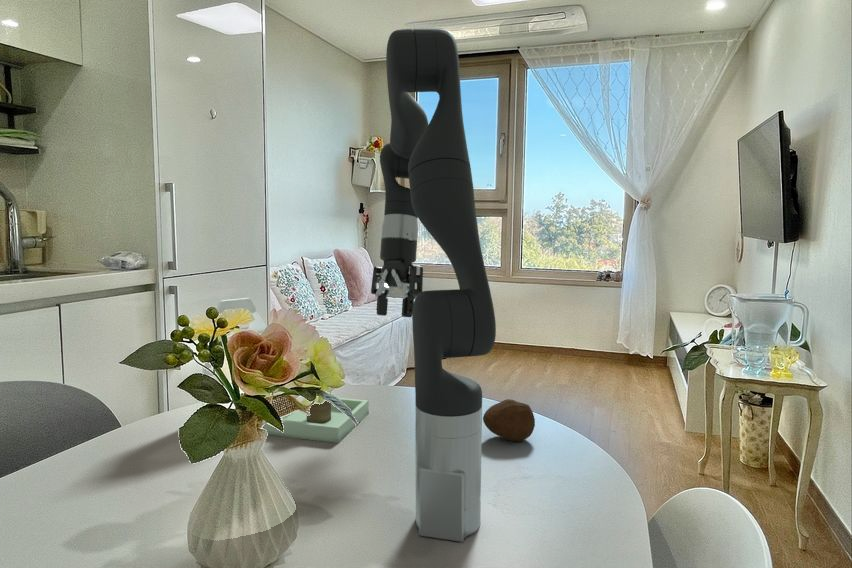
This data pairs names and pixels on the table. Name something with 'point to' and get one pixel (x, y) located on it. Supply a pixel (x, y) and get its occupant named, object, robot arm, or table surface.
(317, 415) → the pepper mill
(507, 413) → the potato
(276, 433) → the bin
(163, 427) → the table surface
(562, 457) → the table surface
